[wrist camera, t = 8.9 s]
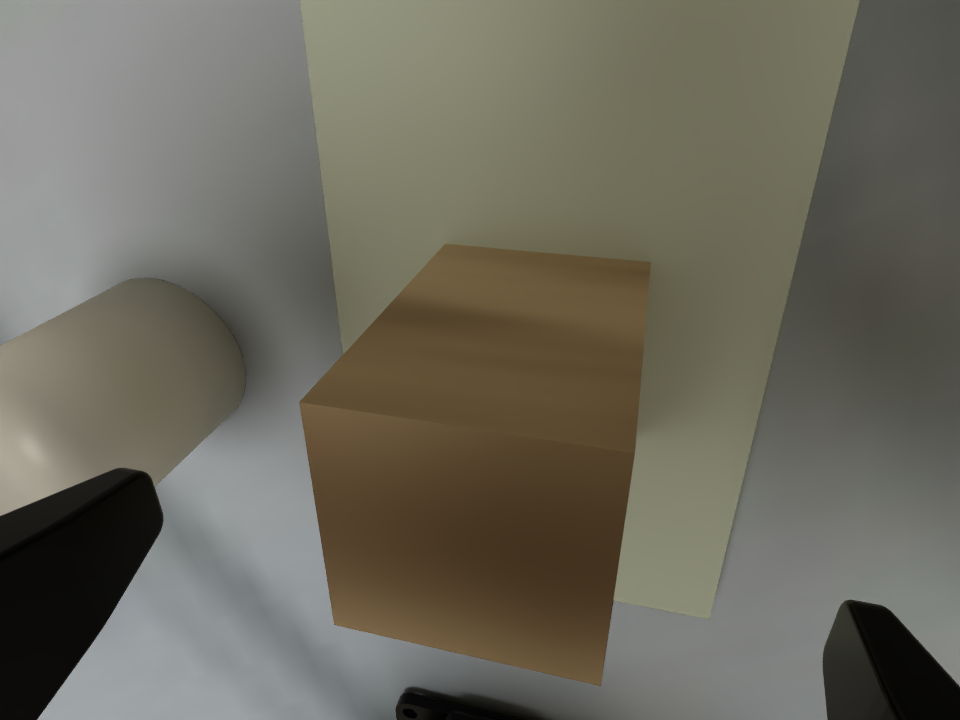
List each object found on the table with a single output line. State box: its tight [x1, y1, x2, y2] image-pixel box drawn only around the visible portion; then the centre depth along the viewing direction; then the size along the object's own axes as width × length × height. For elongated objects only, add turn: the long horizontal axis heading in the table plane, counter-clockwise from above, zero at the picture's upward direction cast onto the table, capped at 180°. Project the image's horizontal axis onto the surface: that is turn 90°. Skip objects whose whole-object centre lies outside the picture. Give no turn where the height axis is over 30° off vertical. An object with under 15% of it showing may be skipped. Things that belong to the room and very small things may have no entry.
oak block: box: [300, 244, 651, 686], centre depth 11 cm, size 4×4×6 cm
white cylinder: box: [0, 278, 246, 516], centre depth 15 cm, size 4×4×5 cm
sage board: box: [300, 0, 860, 619], centre depth 14 cm, size 14×9×1 cm, turn 1°
